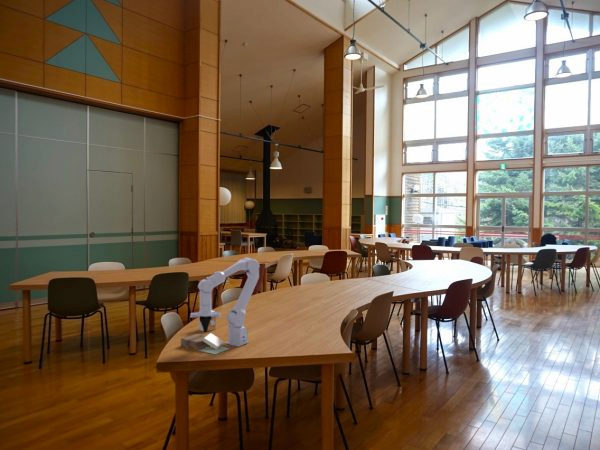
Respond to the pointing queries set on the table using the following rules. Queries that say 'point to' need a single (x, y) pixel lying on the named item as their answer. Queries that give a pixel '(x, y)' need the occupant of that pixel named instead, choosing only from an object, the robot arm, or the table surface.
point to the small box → (211, 325)
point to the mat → (214, 350)
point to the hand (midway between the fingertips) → (205, 331)
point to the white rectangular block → (213, 341)
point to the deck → (194, 342)
